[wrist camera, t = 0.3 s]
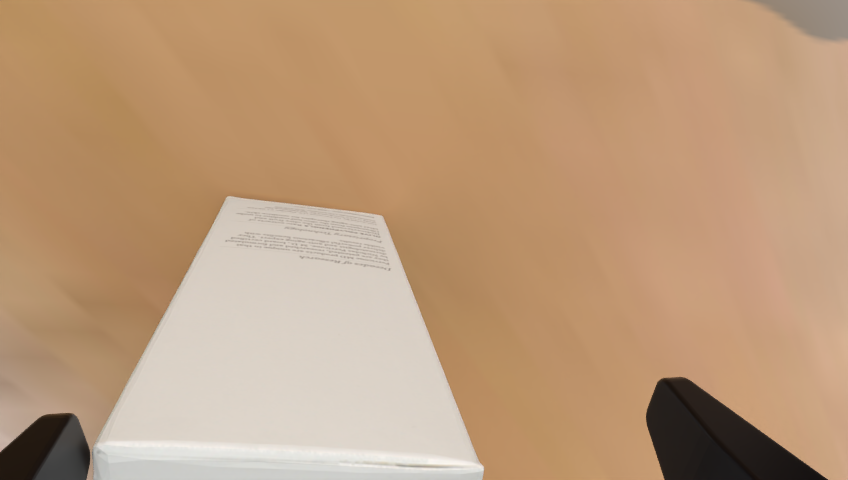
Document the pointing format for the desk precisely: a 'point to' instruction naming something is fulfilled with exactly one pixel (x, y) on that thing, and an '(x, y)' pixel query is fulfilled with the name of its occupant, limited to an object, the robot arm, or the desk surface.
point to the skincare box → (289, 362)
